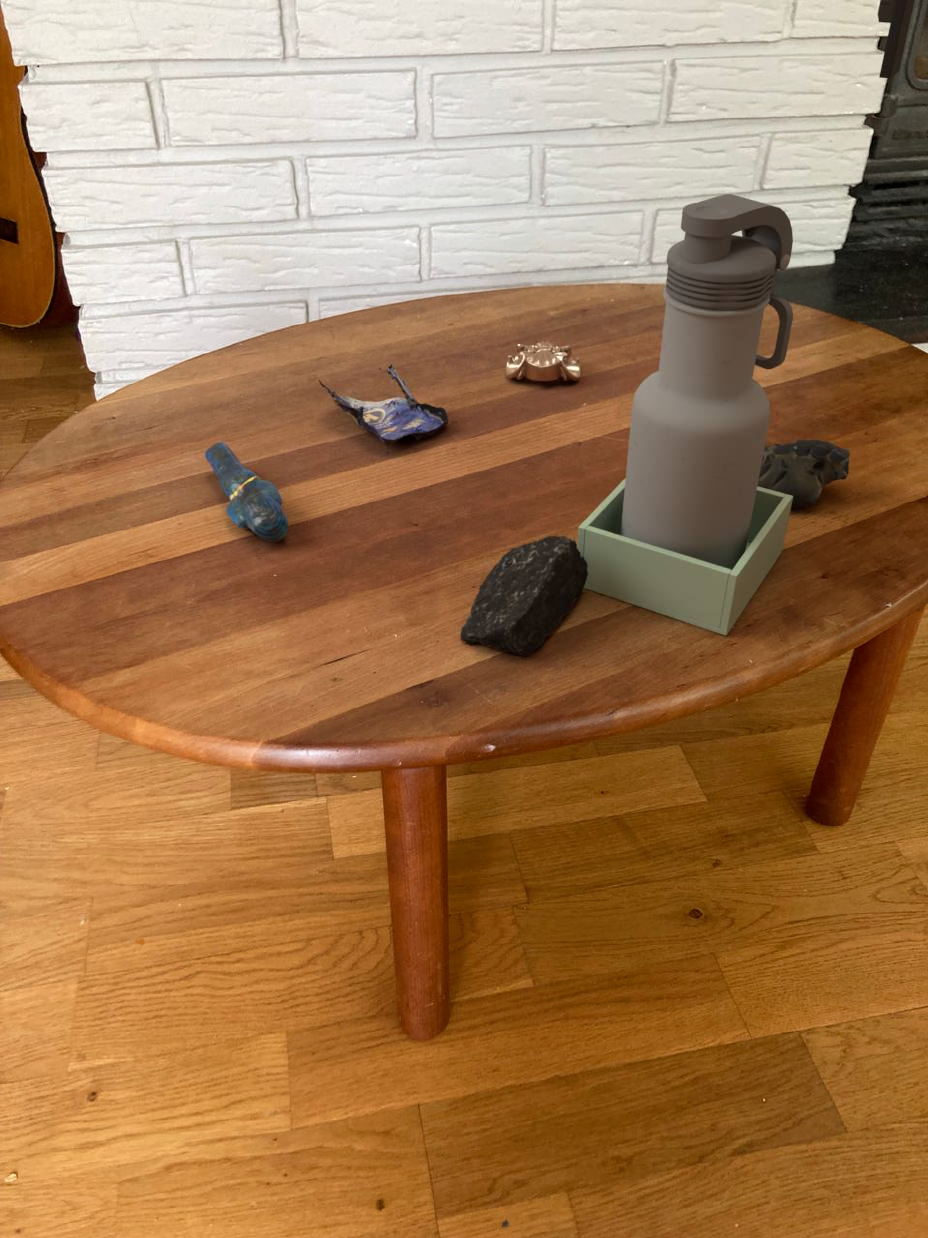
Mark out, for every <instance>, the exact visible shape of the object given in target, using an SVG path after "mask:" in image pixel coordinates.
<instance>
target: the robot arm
mask: <svg viewBox="0 0 928 1238" xmlns="http://www.w3.org/2000/svg"><path fill="white" fill-rule="evenodd" d="M915 1H916V0H879V5H878V10H877V19H878V23H884V24H885V23H886V24H889V29H888V34H887V38H886V42H885V46H884V47H885V48H884V52H883V56H882V57H883V58H882V63H881V66H880V71H879V78H880V79H888V80H889V79H891V78H893V77H894V76H896V75H897V74H898V73H899V72H900V70H901V66H902V61H903V55H904V51H905V48H906V43H907V38H908V34H909V30H910V29H909V28H910V24H911V21H912V20H911V19H912V15H913V10H914V6H915Z"/></svg>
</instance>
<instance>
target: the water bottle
mask: <svg viewBox="0 0 928 1238" xmlns="http://www.w3.org/2000/svg"><path fill="white" fill-rule="evenodd" d="M680 229H681V230H682V232H684V238H683V239H682V240H681V241H678V242H676V243H675V244H673V245H671V247H670V248H669V249H668V250H667V255H666V264H667V270H666V271H667V272H666V273H667V274H666V281H665V287H664V288H663V291H662V296H663V299H664V300H665V310H664V318H663V326H662V327H663V328H662V335H661V336H662V337H661V346H660V354H659V355H660V356H659V366H658V370H657V371H655V372H653V373H651V374H650V375H649V376H648V377H646V378H645V379H644V380H643V381H642V382H641V383H640V385H639V386H638V387H637V389H636V390H635V393H634V395H633V401H632V407H631V415H630V429H629V437H628V439H629V440H628V447H627V448H628V449H627V459H626V470H625V471H626V472H625V478H626V480H625V491H624V502H623V513H622V524H621V536H624V537H627V538H631V539H634V540H637V541H640V542H643V543H647V544H650V545H653V546H656V547H660V548H663V549H666V550H669V551H673V552H676V553H679V554H682V555H686V556H689V557H692V558H695V559H699V560H702V561H705V562H708V563H711V564H715V565H718V566H721V567H724V568H728V569H731V570H733V568H734V567H735V565H736V564H737V563H738V561H739V560H740V558H741V557H742V556H743V554H744V553H745V551H746V545H747V540H748V534H749V529H750V523H751V518H752V513H753V507H754V502H755V496H756V491H757V485H758V480H759V474H760V469H761V463H762V458H763V452H764V447H765V446H766V441H767V434H768V431H769V430H768V429H769V425H770V418H771V403H770V400H769V399H770V398H769V396H768V395H767V393H766V390H764V388H763V387H762V386H761V385H760V383H759V382H758V381H757V380H755V379H754V378H753V377H754V372H755V366H757V367H758V368H759V367H760V368H762V369H764V370H773V369H775V368H777V367H779V366H781V365H782V364H783V363H784V362H785V360H786V357H787V353H788V347H789V342H790V336H791V332H792V331H791V330H792V325H793V320H794V311H793V308H792V304H790V302H789V301H788V300H787V299H786V298H784V297H782V296H780V295H777V294H774V293H775V288H776V282H777V278H778V277H777V276H778V271H785V270H786V269H787V268H788V266H790V265H789V264H790V262H791V257H792V252H793V251H792V250H793V242H794V237H793V236H794V235H793V227H792V224H791V220H790V218H789V217H788V214H787V213H786V212H785V211H784V210H783V209H782V208H781V207H779V206H776V205H772V204H768V203H765V202H760V201H757V200H754V199H751V198H746V197H744V196H739V195H737V194H736V195H735V194H731V193H729V194H721V195H718V196H715V197H711V198H708V199H704V200H701V201H697V202H692V203H689V204H686V205H684V206H683V208H682V211H681V222H680ZM738 232H741V235H736V233H738ZM767 306H771V307H772V308H773V309H774V310H775V312H776V313H777V316H778V321H779V324H778V330H777V336H776V341H775V348H774V351H773V353H772V355H771V357H770V356H769V357H766V356H762V355H761V354H758V349H759V341H760V337H761V336H760V335H761V330H762V324H763V320H764V319H763V318H764V313H765V312H764V311H765V308H767Z"/></svg>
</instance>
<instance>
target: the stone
mask: <svg viewBox="0 0 928 1238" xmlns="http://www.w3.org/2000/svg"><path fill="white" fill-rule="evenodd" d="M850 456H851V453H850V451H849V450H848V449H847V448H842V447H839V446H837V445H836V444H834V443H832V442H829V441H823V440H820V439H797V440H796V441H795V442H790V443H785V444H780V443H775V444H769V445H765V447H764V452H763V458H762V463H761V469H760V474H759V480H758V485H757V486H758V487H762V488H765V489H769V490H773V491H776V492H780V493H784V494H788V495H791V496H793V500H792V505H791V509H797V508H805V507H809V506H811V505H813V504H815V503H816V502H817V501H818V499H819V498H820V496H821V495H822V492H823V489H824V488H825V487H827V485H829V484H831V483H833V482H835V481H839V480H842V481H844V480H847V479H848V476H849V474H850V472H849V469H850V467H849V466H850Z"/></svg>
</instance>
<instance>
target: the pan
mask: <svg viewBox="0 0 928 1238" xmlns="http://www.w3.org/2000/svg"><path fill="white" fill-rule="evenodd" d="M625 480H626V477H625V478H624V479H622V481H621V482H620V483H619V484H618V485H617V486H616V487H615V488H614V489H613V491H612V492H610V494H609V495H608V496H606V497H605V499H604V500H602V502H601V503H599V505H598V506H597V507H596V508H595V509H594V510H593V511H592V512H591V513H590V514H589V515H588V517H586V519H584V521H582V523H581V524H579V526H578V530H577V542H576V544H577V549H578V551H579V552H580V554H581V557H582V556H583V557H584V559H585V561H586V562H587V565H588V567H587V571H588V576H587V579H586V582H585V586H584V587H583V589H586V590H589V591H592V592H595V593H597V594H601V595H603V596H605V597H606V596H607V597H610V598H612V599H616V600H619V601H622V602H625V603H627V604H630V605H633V606H636V607H638V608H639V607H640V608H642V609H645V610H648V611H650V612H654V613H657V614H660V615H663V616H665V617H669V618H671V619H675V620H677V621H681V622H683V623H687V624H690V625H692V626H696V627H698V628H702V629H705V630H708V631H711V632H713V633H715V634H719V635H723V636H725V637H726V636H728V634H729V633H730V631H731V630H732V628H733V627H734V625H735V624H736V622H737V621H738V619H739V618H740V617H741V615H742V613H743V612H744V610H745V609H746V608H747V606H748V604H749V602H750V601H751V600H752V598H753V596H754V595H755V594H756V592H757V590H758V589H759V587H761V585H762V583H763V581H764V580H765V579H766V577H767V575H768V574H769V572H770V571H771V569H772V568H773V566H774V565H775V564H776V562H777V560H778V559H779V558H780V555H781V554H782V552H783V547H784V543H785V537H786V532H787V527H788V523H789V518H790V514H791V510H792V508H791V505H792V500H793V496H791V495H788V494H784V493H780V492H776V491H773V490H769V489H765V488H762V487H758V486H757V491H756V496H755V502H754V507H753V513H752V518H751V523H750V529H749V534H748V540H747V545H746V551H745V553H744V554H743V556H742V557H741V558H740V560H739V561H738V563H737V564H736V565H735V567H734V568H733V570H731V569H728V568H724V567H721V566H718V565H715V564H711V563H708V562H705V561H702V560H699V559H695V558H692V557H689V556H686V555H682V554H679V553H676V552H673V551H669V550H666V549H663V548H660V547H656V546H653V545H650V544H647V543H643V542H640V541H637V540H634V539H631V538H627V537H624V536H621V524H622V513H623V502H624V491H625Z"/></svg>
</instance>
